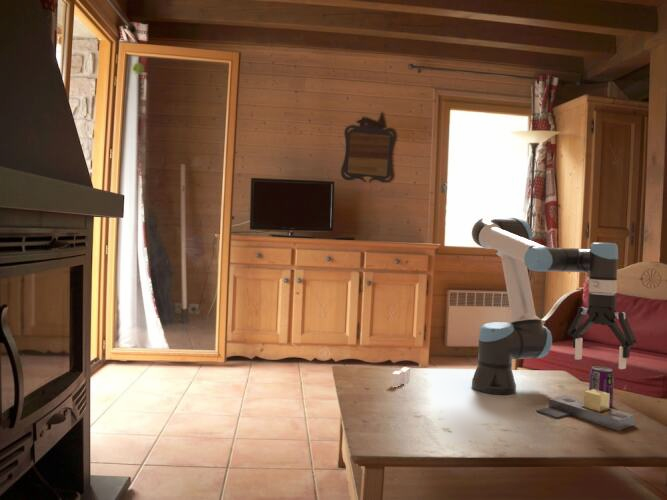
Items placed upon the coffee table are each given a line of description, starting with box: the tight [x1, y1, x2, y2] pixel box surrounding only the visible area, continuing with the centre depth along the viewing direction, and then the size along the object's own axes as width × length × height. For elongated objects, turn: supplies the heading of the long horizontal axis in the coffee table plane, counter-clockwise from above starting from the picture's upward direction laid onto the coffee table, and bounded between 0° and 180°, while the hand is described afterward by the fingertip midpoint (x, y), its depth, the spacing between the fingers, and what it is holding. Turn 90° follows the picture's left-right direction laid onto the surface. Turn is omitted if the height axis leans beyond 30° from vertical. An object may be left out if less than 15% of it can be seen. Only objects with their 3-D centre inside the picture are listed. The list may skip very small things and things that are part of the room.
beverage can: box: [588, 366, 615, 407], centre depth 173 cm, size 7×7×12 cm
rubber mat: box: [536, 406, 571, 420], centre depth 162 cm, size 7×7×1 cm
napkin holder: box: [391, 366, 411, 387], centre depth 189 cm, size 15×11×6 cm
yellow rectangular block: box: [583, 389, 610, 413], centre depth 159 cm, size 5×5×8 cm
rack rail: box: [548, 394, 635, 431], centre depth 160 cm, size 22×9×3 cm, turn 34°
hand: (599, 363), depth 158 cm, fingers open, 13 cm apart
